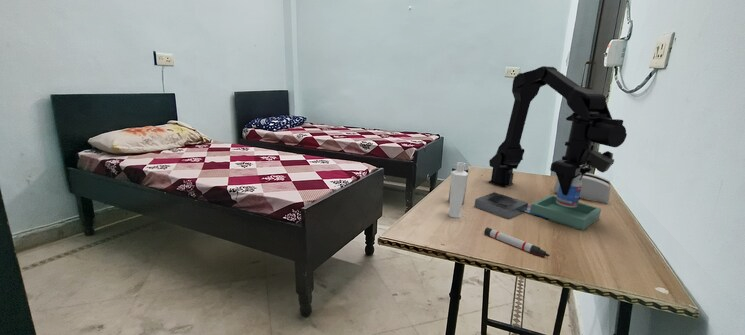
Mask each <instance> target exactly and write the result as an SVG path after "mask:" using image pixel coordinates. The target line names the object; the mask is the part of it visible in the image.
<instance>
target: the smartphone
mask: <svg viewBox="0 0 745 335" xmlns="http://www.w3.org/2000/svg"><path fill="white" fill-rule="evenodd" d="M500 205H503V204H500ZM503 206H506V205H503ZM506 207H507V206H506ZM530 209H531V205H530V204H528V208H527V210H526V211H524V212H523V213H522V214H527V215H530V216H532V217H537V218H539V219H541V220H542V219H543V220H545V221H550V220H549V219H548V218H545V217H542V216H539V215H536V214H533V213H530Z"/></svg>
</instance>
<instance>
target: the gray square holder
mask: <svg viewBox="0 0 745 335" xmlns="http://www.w3.org/2000/svg"><path fill="white" fill-rule="evenodd" d="M500 204H503V205H506V206H507V207H506V206H503V205H500ZM528 205H529V202H528V201H524V200H521V199H518V198H515V197H511V196H507V195H505V194H502V193H499V192H495V191H494V192H491V193H488V194H486V195H482V196H480V197H478V198H475V200H474V208H476V209H480V210H482V211H485V212H488V213H490V214H493V215H496V216H499V217H501V218H505V219H508V220H510V219H512V218H515V217H516V216H519V215H521V214H524V213H523V212H524V211H526V210H527V208H528Z"/></svg>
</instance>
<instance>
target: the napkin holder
mask: <svg viewBox="0 0 745 335" xmlns="http://www.w3.org/2000/svg"><path fill="white" fill-rule="evenodd" d="M581 182H582V187H581V191H580V196H579V197H580V198H579V199H583V198H584V200H589V201H594V202H599V203H603V204H609V202H610V195H611V194H610V193H611V192H610V191H611V182H610V180H609V179H608V178H605V177H602V176H600V175H597V174H594V173H591V172H587V173H585V174H584V175H583V177H582V179H581ZM559 186H560V184H559V180H558V178H556V181H555V184H554V186H553V189H552V193H554V194H558V191H559ZM555 192H556V193H555Z"/></svg>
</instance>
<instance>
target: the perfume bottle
mask: <svg viewBox="0 0 745 335" xmlns="http://www.w3.org/2000/svg"><path fill="white" fill-rule="evenodd" d="M456 163H457V170H455V171H452V170H451V171H450V182H451V188H450V187H449V191H450V201H449V209H448V212H447V215H448V216H449V217H450V218H457V219H458V218H459V219H460V218H461V217H462V207H463V204H464V203H463V198H464V193H465V194H466V192H465V188H466V189H467V185H466V183H468V177H469V172H468V173H467V172H466V171H464V165H465V164H466V163H465V162H460V161H459V162H456Z"/></svg>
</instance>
